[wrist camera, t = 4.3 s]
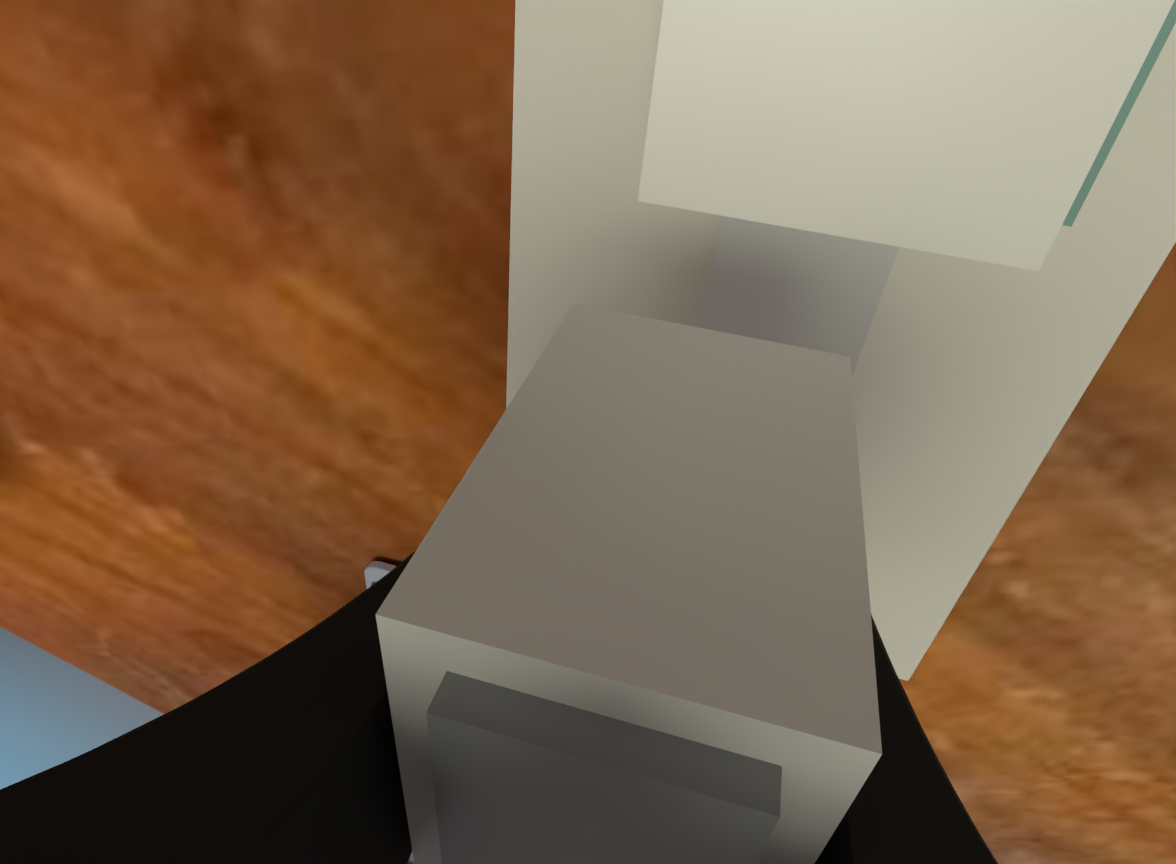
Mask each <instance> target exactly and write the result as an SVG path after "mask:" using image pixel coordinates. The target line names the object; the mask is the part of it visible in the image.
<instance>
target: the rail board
mask: <svg viewBox="0 0 1176 864" xmlns="http://www.w3.org/2000/svg"><path fill="white" fill-rule="evenodd" d="M663 3H664V0H516V8H515V51H514V94H513V137H512V180H511V223H510V266H509V308H508V351H507V394H506V409H507V407H508V406H509V404H510V403H511V401H512V399H513V398H514V396H515V395H516V393H517V392H518V390H519V388H520V387H521V385H522V384H523V382H524V381H525V379H526V377H527V376H528V374H529V373H530V371H531V370H532V368H533V367H534V365H535V363H536V362H537V360H538V359H539V357H540V356H541V354H542V352H543V351H544V349H545V348H546V346H547V345H548V343H549V341H550V340H551V338H552V337H553V335H554V334H555V332H556V330H557V329H558V327H559V326H560V324H561V323H562V321H563V319H564V318H565V316H566V315H567V313H568V312H569V310H570V308H571V307H572V305H573V304H578V305H584V306H589V307H594V308H599V309H604V310H610V311H615V312H620V313H625V314H631V315H636V316H641V317H646V318H652V319H657V320H662V321H667V322H672V323H678V324H683V325H688V326H693V327H699V328H704V329H709V330H714V331H719V332H725V333H730V334H735V335H740V336H746V337H751V338H756V339H761V340H766V341H772V342H777V343H782V344H787V345H793V346H798V347H803V348H808V349H814V350H819V351H824V352H829V353H834V354H840V355H845V356H850V359H851V371H852V384H853V396H854V409H855V421H856V434H857V446H858V458H859V471H860V483H861V496H862V508H863V521H864V533H865V546H866V558H867V571H868V583H869V596H870V608H871V614H872V617H873V619H874V622H875V625H876V627H877V630H878V632H879V634H880V637H881V639H882V641H883V644H884V646H885V649H886V651H887V653H888V656H889V658H890V660H891V663H892V665H893V667H894V669H895V672H896V674H897V676H898V678H899V679H903V680H907V681H908V680H909V679H910V677H911V676H912V674H913V672H914V671H915V669H916V667H917V666H918V664H919V662H920V661H921V659H922V658H923V656H924V654H925V653H926V651H927V649H928V648H929V646H930V644H931V643H932V641H933V639H934V638H935V636H936V635H937V633H938V631H939V630H940V628H941V626H942V625H943V623H944V621H945V620H946V618H947V617H948V615H949V613H950V612H951V610H952V608H953V607H954V605H955V603H956V602H957V600H958V598H959V597H960V595H961V594H962V592H963V590H964V589H965V587H966V585H967V584H968V582H969V580H970V579H971V577H972V575H973V574H974V572H975V571H976V569H977V567H978V566H979V564H980V562H981V561H982V559H983V557H984V556H985V554H986V553H987V551H988V549H989V548H990V546H991V544H992V543H993V541H994V539H995V538H996V536H997V534H998V533H999V531H1000V530H1001V528H1002V526H1003V525H1004V523H1005V521H1006V520H1007V518H1008V516H1009V515H1010V513H1011V512H1012V510H1013V508H1014V507H1015V505H1016V503H1017V502H1018V500H1019V498H1020V497H1021V495H1022V493H1023V492H1024V490H1025V489H1026V487H1027V485H1028V484H1029V482H1030V480H1031V479H1032V477H1033V475H1034V474H1035V472H1036V470H1037V469H1038V467H1039V466H1040V464H1041V462H1042V461H1043V459H1044V457H1045V456H1046V454H1047V452H1048V451H1049V449H1050V448H1051V446H1052V444H1053V443H1054V441H1055V439H1056V438H1057V436H1058V434H1059V433H1060V431H1061V429H1062V428H1063V426H1064V425H1065V423H1066V421H1067V420H1068V418H1069V416H1070V415H1071V413H1072V411H1073V410H1074V408H1075V407H1076V405H1077V403H1078V402H1079V400H1080V398H1081V397H1082V395H1083V393H1084V392H1085V390H1086V388H1087V387H1088V385H1089V384H1090V382H1091V380H1092V379H1093V377H1094V375H1095V374H1096V372H1097V370H1098V369H1099V367H1100V365H1101V364H1102V362H1103V361H1104V359H1105V357H1106V356H1107V354H1108V352H1109V351H1110V349H1111V347H1112V346H1113V344H1114V343H1115V341H1116V339H1117V338H1118V336H1119V334H1120V333H1121V331H1122V329H1123V328H1124V326H1125V324H1126V323H1127V321H1128V320H1129V318H1130V316H1131V315H1132V313H1133V311H1134V310H1135V308H1136V306H1137V305H1138V303H1139V302H1140V300H1141V298H1142V297H1143V295H1144V293H1145V292H1146V290H1147V288H1148V287H1149V285H1150V283H1151V282H1152V280H1153V279H1154V277H1155V275H1156V274H1157V272H1158V270H1159V269H1160V267H1161V265H1162V264H1163V262H1164V260H1165V259H1166V257H1167V256H1168V254H1169V252H1170V251H1171V249H1172V247H1173V246H1174V244H1175V242H1176V23H1175V25H1174V27H1173V29H1172V31H1171V33H1170V35H1169V37H1168V39H1167V41H1166V43H1165V45H1164V46H1163V48H1162V50H1161V52H1160V54H1159V56H1158V58H1157V60H1156V62H1155V64H1154V66H1153V68H1152V70H1151V72H1150V74H1149V76H1148V78H1147V80H1146V82H1145V84H1144V86H1143V88H1142V90H1141V91H1140V93H1139V95H1138V97H1137V99H1136V101H1135V103H1134V105H1133V107H1132V109H1131V111H1130V113H1129V115H1128V117H1127V119H1126V121H1125V123H1124V125H1123V127H1122V129H1121V131H1120V133H1119V135H1118V137H1117V138H1116V140H1115V142H1114V144H1113V146H1112V148H1111V150H1110V152H1109V154H1108V156H1107V158H1106V160H1105V162H1104V164H1103V166H1102V168H1101V170H1100V172H1099V174H1098V176H1097V178H1096V180H1095V182H1094V184H1093V185H1092V187H1091V189H1090V191H1089V193H1088V195H1087V197H1086V199H1085V201H1084V203H1083V205H1082V207H1081V209H1080V211H1079V213H1078V215H1077V217H1076V219H1075V221H1074V223H1073V225H1072V227H1070V226H1064V225H1062V226H1061V228H1060V230H1059V232H1058V234H1057V236H1056V238H1055V240H1054V242H1053V244H1052V246H1051V248H1050V250H1049V252H1048V254H1047V256H1046V258H1045V260H1044V262H1043V264H1042V266H1041V268H1040V270H1039V271H1034V270H1029V269H1023V268H1017V267H1012V266H1006V265H1000V264H994V263H989V262H983V261H977V260H972V259H966V258H960V257H954V256H949V255H943V254H937V253H932V252H926V251H920V250H915V249H909V248H903V247H897V246H892V245H886V244H880V243H875V242H869V241H863V240H857V239H852V238H846V237H840V236H835V235H829V234H823V233H817V232H812V231H806V230H800V229H795V228H789V227H783V226H777V225H772V224H766V223H760V222H755V221H749V220H743V219H738V218H732V217H726V216H720V215H715V214H709V213H703V212H698V211H692V210H686V209H680V208H675V207H669V206H663V205H658V204H652V203H646V202H640V201H638V194H639V187H640V179H641V171H642V164H643V156H644V148H645V141H646V133H647V125H648V118H649V110H650V102H651V95H652V87H653V80H654V72H655V64H656V57H657V49H658V41H659V34H660V26H661V18H662V11H663Z"/></svg>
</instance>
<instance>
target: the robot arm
mask: <svg viewBox="0 0 1176 864" xmlns="http://www.w3.org/2000/svg"><path fill="white" fill-rule="evenodd" d="M415 552H416V551H415ZM415 552H413V553H412V554H411V555H410V556H409V557H407V558H406V559H405V560H404V561H403V562H401V563H400V564H399V565H398V566H395V565H391V564H388V563H384V562H380V561H373V562H371V563H370V564H369V565H368V566H367V568H366V569H365V572H364V574H365V581H366V588H367V589H366V590H365V591H364V592H362V593H361V594H360V595H358V596H357V597H356V598H354V599H353V600H352V601H350V602H349V603H348V604H346V605H345V606H343V607H342V608H341V609H339V610H338V611H337V612H335V613H334V614H332V615H331V616H330V617H328V618H327V619H325V620H324V621H322V622H321V623H319V624H318V625H316V626H315V627H313V628H312V629H310V630H309V631H307V632H306V633H304V634H303V635H301V636H300V637H298V638H297V639H295V640H294V641H292V642H290V643H289V644H287V645H286V646H284V647H283V648H281V649H279V650H278V651H276V652H275V653H273V654H272V655H270V656H268V657H267V658H265V659H263V660H262V661H260V662H258V663H257V664H255V665H253V666H251V667H250V668H248V669H246V670H244V671H243V672H241V673H239V674H238V675H236V676H234V677H232V678H231V679H229V680H227V681H225V682H224V683H222V684H220V685H219V686H217V687H215V688H213V689H212V690H210V691H208V692H206V693H204V694H202V695H201V696H199V697H197V698H195V699H193V700H191V701H189V702H188V703H186V704H184V705H182V706H180V707H178V708H176V709H174V710H172V711H170V712H168V713H166V714H164V715H162V716H160V717H158V718H156V719H154V720H152V721H150V722H148V723H146V724H144V725H142V726H140V727H138V728H136V729H134V730H132V731H130V732H128V733H126V734H124V735H121V736H120V737H117V738H115V739H113V740H112V741H109V742H107V743H105V744H103V745H101V746H99V747H97V748H95V749H93V750H91V751H89V752H86V753H84V754H82V755H80V756H78V757H76V758H73V759H71V760H69V761H67V762H64V763H62V764H60V765H57V766H55V767H53V768H50V769H48V770H46V771H43V772H41V773H38V774H36V775H34V776H31V777H29V778H27V779H24V780H22V781H20V782H18V783H15V784H13V785H10V786H8V787H6V788H3V789H1V790H0V864H414V858H413V852H412V846H411V839H410V833H409V826H408V820H407V814H406V807H405V801H404V794H403V788H402V782H401V775H400V769H399V762H398V756H397V750H396V743H395V737H394V730H393V724H392V718H391V711H390V705H389V698H388V692H387V686H386V679H385V673H384V666H383V660H382V654H381V647H380V641H379V634H378V628H377V622H376V615H375V614H376V613H377V611H378V610H379V608H380V606H381V605H382V603H383V602H384V600H385V599H386V597H387V595H388V594H389V592H390V591H391V589H392V588H393V586H394V585H395V583H396V581H397V580H398V578H399V577H400V575H401V574H402V572H403V570H404V569H405V567H406V566H407V564H408V563H409V561H410V559H411V558H412V556H413V555H414V553H415ZM871 621H872V633H873V645H874V658H875V670H876V683H877V695H878V708H879V720H880V733H881V745H882V755H881V757H880V759H879V760H878V762H877V763H876V765H875V767H874V768H873V770H872V772H871V773H870V775H869V776H868V778H867V780H866V781H865V783H864V784H863V786H862V788H861V789H860V791H859V793H858V794H857V796H856V797H855V799H854V801H853V802H852V804H851V806H850V807H849V809H848V810H847V812H846V814H845V815H844V817H843V818H842V820H841V822H840V823H839V825H838V827H837V828H836V830H835V831H834V833H833V835H832V836H831V838H830V839H829V841H828V843H827V844H826V846H825V848H824V849H823V851H822V852H821V854H820V856H819V857H818V859H817V860H816V862H815V864H998V863H997V861H996V860H995V858H994V857H993V855H992V853H991V852H990V850H989V848H988V847H987V845H986V844H985V842H984V840H983V839H982V837H981V835H980V834H979V832H978V830H977V828H976V827H975V825H974V823H973V822H972V820H971V818H970V816H969V815H968V813H967V811H966V809H965V808H964V806H963V804H962V802H961V801H960V799H959V797H958V795H957V793H956V792H955V790H954V788H953V786H952V784H951V782H950V781H949V779H948V777H947V775H946V773H945V771H944V769H943V767H942V766H941V764H940V762H939V760H938V758H937V756H936V754H935V752H934V751H933V749H932V747H931V745H930V743H929V741H928V739H927V737H926V735H925V733H924V731H923V729H922V727H921V725H920V723H919V721H918V719H917V716H916V714H915V712H914V710H913V708H912V706H911V704H910V702H909V699H908V697H907V695H906V693H905V691H904V689H903V687H902V685H901V683H900V680H899V678H898V676H897V674H896V672H895V669H894V667H893V665H892V663H891V660H890V658H889V656H888V653H887V651H886V649H885V646H884V644H883V641H882V639H881V637H880V634H879V632H878V630H877V627H876V625H875V622H874V619H873V617H872V614H871Z"/></svg>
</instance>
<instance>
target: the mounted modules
mask: <svg viewBox="0 0 1176 864" xmlns="http://www.w3.org/2000/svg"><path fill="white" fill-rule="evenodd" d="M1175 23H1176V0H664V3H663V11H662V18H661V26H660V34H659V41H658V49H657V57H656V64H655V72H654V80H653V87H652V95H651V102H650V110H649V118H648V125H647V133H646V141H645V148H644V156H643V164H642V171H641V179H640V187H639V194H638V201H640V202H646V203H652V204H658V205H663V206H669V207H675V208H680V209H686V210H692V211H698V212H703V213H709V214H715V215H720V216H726V217H732V218H738V219H743V220H749V221H755V222H760V223H766V224H772V225H777V226H783V227H789V228H795V229H800V230H806V231H812V232H817V233H823V234H829V235H835V236H840V237H846V238H852V239H857V240H863V241H869V242H875V243H880V244H886V245H892V246H897V247H903V248H909V249H915V250H920V251H926V252H932V253H937V254H943V255H949V256H954V257H960V258H966V259H972V260H977V261H983V262H989V263H994V264H1000V265H1006V266H1012V267H1017V268H1023V269H1029V270H1034V271H1039V270H1040V268H1041V266H1042V264H1043V262H1044V260H1045V258H1046V256H1047V254H1048V252H1049V250H1050V248H1051V246H1052V244H1053V242H1054V240H1055V238H1056V236H1057V234H1058V232H1059V230H1060V228H1061V226H1062V225H1064V226H1070V227H1072V225H1073V223H1074V221H1075V219H1076V217H1077V215H1078V213H1079V211H1080V209H1081V207H1082V205H1083V203H1084V201H1085V199H1086V197H1087V195H1088V193H1089V191H1090V189H1091V187H1092V185H1093V184H1094V182H1095V180H1096V178H1097V176H1098V174H1099V172H1100V170H1101V168H1102V166H1103V164H1104V162H1105V160H1106V158H1107V156H1108V154H1109V152H1110V150H1111V148H1112V146H1113V144H1114V142H1115V140H1116V138H1117V137H1118V135H1119V133H1120V131H1121V129H1122V127H1123V125H1124V123H1125V121H1126V119H1127V117H1128V115H1129V113H1130V111H1131V109H1132V107H1133V105H1134V103H1135V101H1136V99H1137V97H1138V95H1139V93H1140V91H1141V90H1142V88H1143V86H1144V84H1145V82H1146V80H1147V78H1148V76H1149V74H1150V72H1151V70H1152V68H1153V66H1154V64H1155V62H1156V60H1157V58H1158V56H1159V54H1160V52H1161V50H1162V48H1163V46H1164V45H1165V43H1166V41H1167V39H1168V37H1169V35H1170V33H1171V31H1172V29H1173V27H1174V25H1175Z"/></svg>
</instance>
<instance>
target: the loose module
mask: <svg viewBox="0 0 1176 864" xmlns="http://www.w3.org/2000/svg"><path fill="white" fill-rule="evenodd" d="M375 615H376V622H377V628H378V634H379V641H380V647H381V654H382V660H383V666H384V673H385V679H386V686H387V692H388V698H389V705H390V711H391V718H392V724H393V730H394V737H395V743H396V750H397V756H398V762H399V769H400V775H401V782H402V788H403V794H404V801H405V807H406V814H407V820H408V826H409V833H410V839H411V846H412V852H413V858H414V864H815V862H816V860H817V859H818V857H819V856H820V854H821V852H822V851H823V849H824V848H825V846H826V844H827V843H828V841H829V839H830V838H831V836H832V835H833V833H834V831H835V830H836V828H837V827H838V825H839V823H840V822H841V820H842V818H843V817H844V815H845V814H846V812H847V810H848V809H849V807H850V806H851V804H852V802H853V801H854V799H855V797H856V796H857V794H858V793H859V791H860V789H861V788H862V786H863V784H864V783H865V781H866V780H867V778H868V776H869V775H870V773H871V772H872V770H873V768H874V767H875V765H876V763H877V762H878V760H879V759H880V757H881V755H882V745H881V733H880V720H879V708H878V695H877V683H876V670H875V658H874V645H873V633H872V621H871V608H870V596H869V583H868V571H867V558H866V546H865V533H864V521H863V508H862V496H861V483H860V471H859V458H858V446H857V434H856V421H855V409H854V396H853V384H852V371H851V359H850V356H845V355H840V354H834V353H829V352H824V351H819V350H814V349H808V348H803V347H798V346H793V345H787V344H782V343H777V342H772V341H766V340H761V339H756V338H751V337H746V336H740V335H735V334H730V333H725V332H719V331H714V330H709V329H704V328H699V327H693V326H688V325H683V324H678V323H672V322H667V321H662V320H657V319H652V318H646V317H641V316H636V315H631V314H625V313H620V312H615V311H610V310H604V309H599V308H594V307H589V306H584V305H578V304H573V305H572V307H571V308H570V310H569V312H568V313H567V315H566V316H565V318H564V319H563V321H562V323H561V324H560V326H559V327H558V329H557V330H556V332H555V334H554V335H553V337H552V338H551V340H550V341H549V343H548V345H547V346H546V348H545V349H544V351H543V352H542V354H541V356H540V357H539V359H538V360H537V362H536V363H535V365H534V367H533V368H532V370H531V371H530V373H529V374H528V376H527V377H526V379H525V381H524V382H523V384H522V385H521V387H520V388H519V390H518V392H517V393H516V395H515V396H514V398H513V399H512V401H511V403H510V404H509V406H508V407H507V409H506V410H505V412H504V414H503V415H502V417H501V418H500V420H499V421H498V423H497V425H496V426H495V428H494V429H493V431H492V432H491V434H490V436H489V437H488V439H487V440H486V442H485V443H484V445H483V447H482V448H481V450H480V451H479V453H478V454H477V456H476V457H475V459H474V461H473V462H472V464H471V465H470V467H469V468H468V470H467V472H466V473H465V475H464V476H463V478H462V479H461V481H460V483H459V484H458V486H457V487H456V489H455V490H454V492H453V494H452V495H451V497H450V498H449V500H448V501H447V503H446V505H445V506H444V508H443V509H442V511H441V512H440V514H439V516H438V517H437V519H436V520H435V522H434V523H433V525H432V526H431V528H430V530H429V531H428V533H427V534H426V536H425V537H424V539H423V541H422V542H421V544H420V545H419V547H418V548H417V550H416V552H415V553H414V555H413V556H412V558H411V559H410V561H409V563H408V564H407V566H406V567H405V569H404V570H403V572H402V574H401V575H400V577H399V578H398V580H397V581H396V583H395V585H394V586H393V588H392V589H391V591H390V592H389V594H388V595H387V597H386V599H385V600H384V602H383V603H382V605H381V606H380V608H379V610H378V611H377V613H376V614H375Z"/></svg>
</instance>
